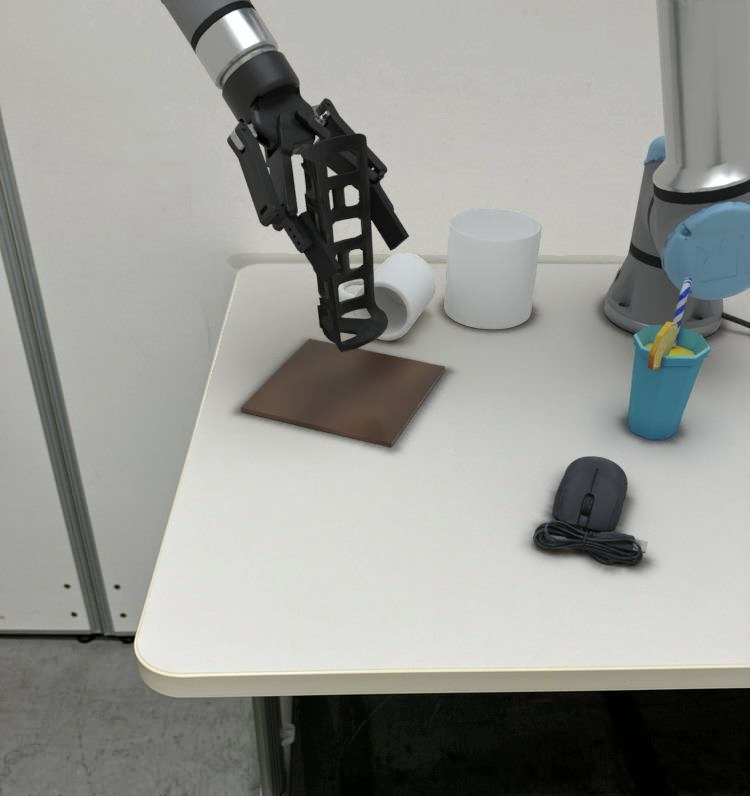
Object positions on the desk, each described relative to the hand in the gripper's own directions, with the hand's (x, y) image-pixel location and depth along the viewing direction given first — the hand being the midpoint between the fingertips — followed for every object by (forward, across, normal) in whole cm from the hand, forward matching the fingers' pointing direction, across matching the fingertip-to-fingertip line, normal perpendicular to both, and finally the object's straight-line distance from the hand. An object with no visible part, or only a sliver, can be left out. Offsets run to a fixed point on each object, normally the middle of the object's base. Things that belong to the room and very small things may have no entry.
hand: (367, 259), depth 95 cm
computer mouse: (+33, +2, +10) cm, 35 cm away
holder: (+4, 0, -9) cm, 10 cm away
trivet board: (+10, 0, -14) cm, 17 cm away
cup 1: (+11, -28, -14) cm, 33 cm away
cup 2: (+32, -17, +8) cm, 36 cm away
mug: (+4, -16, -20) cm, 26 cm away
